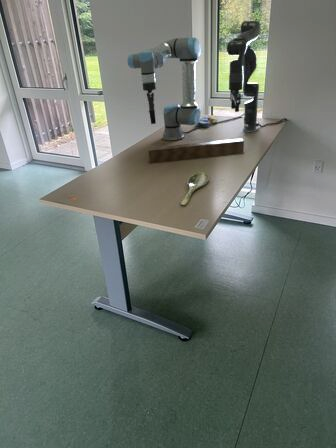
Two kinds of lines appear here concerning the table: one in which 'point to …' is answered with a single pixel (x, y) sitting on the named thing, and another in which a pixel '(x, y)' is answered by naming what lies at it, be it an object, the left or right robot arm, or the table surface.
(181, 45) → the left robot arm
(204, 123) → the spray gun
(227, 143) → the block
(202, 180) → the spoon
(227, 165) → the table surface
